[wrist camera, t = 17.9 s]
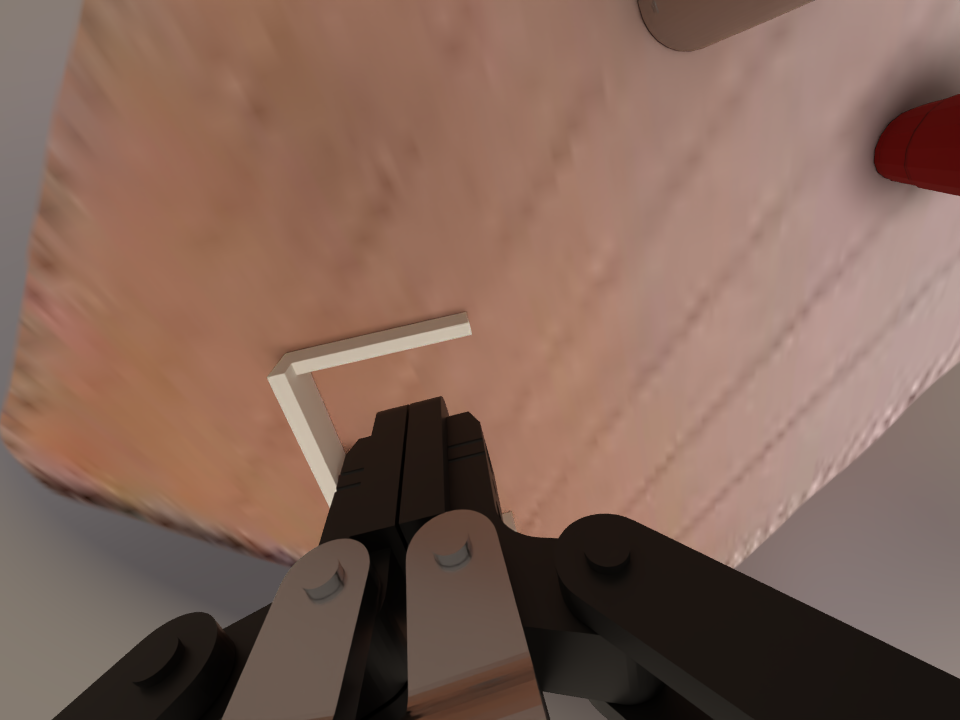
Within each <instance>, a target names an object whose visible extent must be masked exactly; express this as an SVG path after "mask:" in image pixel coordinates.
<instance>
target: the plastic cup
mask: <svg viewBox="0 0 960 720" xmlns="http://www.w3.org/2000/svg"><path fill="white" fill-rule="evenodd" d="M874 163H875V166H876V169H877V171H878V173H880V174H881V175H882V176H883V177H885V178H888V179H890V180H891V181H896V182H901V183H906V184H911V185H915V186H917V187H918V188H923V189H928V190H933V191H938V192H943V193H948V194H953V195H958V196H960V94H958V95H955V96H952V97H949V98H947V99H943V100H939V101H936V102H932V103H928V104H925V105H922V106H919V107H916V108H914V109H911V110H909V111H907V112H904V113H902V114H901V115H899V116H898V117H897V118H896V119H894V120H893V121H892V122H891V123H890V124H889V125H888V126H887V128H886V129H885V130H884V132H883V133H882V135H881V136H880V139H879V141H878V144H877V146H876V149H875V158H874Z"/></svg>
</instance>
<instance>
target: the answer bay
mask: <svg viewBox="0 0 960 720" xmlns="http://www.w3.org/2000/svg"><path fill="white" fill-rule="evenodd" d="M468 335H472V333H471V328H470V324H469V320H468V316H467V312H463V313H458V314H454V315H450V316H445V317H441V318H437V319H432V320H428V321H423V322H419V323H415V324H410V325H406V326H402V327H397V328H393V329H389V330H384V331H380V332H376V333H371V334H367V335H363V336H358V337H354V338H350V339H345V340H341V341H337V342H332V343H328V344H324V345H319V346H315V347H310V348H306V349H302V350H297V351H293V352H289V353H285V354H284V356H283V357H282V358H281V359H280V361H279V362H278V363H277V365H276V366H275V367H274V369H273V370H272V371H271V373H270V374H269V375H268V377H267V379H268V381H269V383H270V385H271V387H272V389H273V391H274V393H275V395H276V398H277V400H278V402H279V404H280V406H281V408H282V410H283V412H284V414H285V416H286V418H287V420H288V422H289V424H290V426H291V429H292V431H293V433H294V435H295V437H296V439H297V441H298V443H299V445H300V447H301V449H302V451H303V453H304V455H305V458H306V460H307V462H308V464H309V466H310V468H311V470H312V472H313V474H314V476H315V478H316V480H317V482H318V484H319V486H320V489H321V491H322V493H323V495H324V497H325V499H326V501H327V503H328V505H329V507H330V506H331V503H332V500H333V496H334V493H335V492H336V486H337V483H338V476H339V475H340V473H341V469H342V466H343V463H344V459H345V456H346V454H345V452H344V449H343V447H342V445H341V442H340V440H339V438H338V435H337V433H336V431H335V428H334V426H333V424H332V421H331V419H330V417H329V414H328V412H327V410H326V407H325V405H324V403H323V400H322V398H321V396H320V393H319V391H318V389H317V386H316V384H315V382H314V379H313V377H312V375H311V372H312V371H316V370H321V369H325V368H329V367H334V366H338V365H342V364H347V363H351V362H355V361H360V360H364V359H368V358H373V357H377V356H381V355H386V354H390V353H394V352H399V351H403V350H407V349H412V348H416V347H420V346H425V345H429V344H433V343H438V342H442V341H446V340H451V339H455V338H459V337H464V336H468ZM502 517H503V522H504V524H506V525H507V526H508V527H509V528H511V529H512V530H514V531H516V527H515V523H514V519H513V515H512V512H508V513H504V514H502ZM516 532H517V531H516Z"/></svg>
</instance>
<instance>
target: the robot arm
mask: <svg viewBox="0 0 960 720" xmlns="http://www.w3.org/2000/svg"><path fill="white" fill-rule="evenodd" d="M812 1H815V0H638V3H639V7H640V11H641V14H642V17H643V20H644V22H645V24H646V26H647V27H648V29H649V31H650V32H651V33H652V35H653V36H654V37H655V38H656V39H657V40H658V41H659V42H661V43H662V44H664V45H665V46H667V47H668V48H671V49H675V50H678V51H694V50H698V49H702V48H705V47H707V46H709V45H712V44H714V43H716V42H719V41H721V40H723V39H726V38H728V37H730V36H733V35H735V34H738V33H740V32H743V31H745V30H747V29H750V28H752V27H754V26H757V25H759V24H761V23H764V22H766V21H768V20H770V19H773V18H775V17H777V16H780V15H782V14H784V13H787V12H789V11H791V10H794V9H796V8H798V7H801V6H803V5H805V4H808V3H810V2H812ZM340 474H341V477H339V479H338V483H337V486H336V492H335V493H334V496H333V500H332V503H331V506H330V510H329V513H328V516H327V520H326V523H325V526H324V530H323V533H322V536H321V540H320V543H319V546H318V547H316V548H314V549H312V550H311V551H309V552H308V553H307V554H305V555H304V556H303V557H302V558H300V559H299V560H298V561H297V562H296V563H295V564H294V565H293V566H292V568H291V569H290V570H289V571H288V573H287V574H286V576H285V577H284V579H283V581H282V583H281V584H280V586H279V589H278V591H277V593H276V596H275V598H274V600H273V602H272V603H270V604H269V605H267V606H265V607H263V608H261V609H260V610H258V611H256V612H254V613H252V614H250V615H248V616H246V617H245V618H243V619H241V620H239V621H237V622H235V623H233V624H231V625H230V626H228V627H226V628H224V629H222V628H221V627H220V625H219V624H218V623H217V622H216V621H215V619H214V618H213V617H212V616H211V615H209V614H207V613H203V612H194V613H189V614H185V615H182V616H179V617H177V618H175V619H173V620H171V621H169V622H167V623H166V624H164V625H162V626H161V627H159V628H158V629H156V630H155V631H153V632H152V633H151V634H149V635H148V636H147V637H146V638H144V639H143V640H142V641H141V642H140V643H139V644H137V645H136V646H135V647H134V648H133V649H132V650H131V651H130V652H128V653H127V654H126V655H125V656H124V657H123V658H121V659H120V660H119V661H118V662H117V663H116V664H115V665H114V666H112V667H111V668H110V669H109V670H108V671H107V672H106V673H104V674H103V675H102V676H101V677H100V678H99V679H98V680H97V681H95V682H94V683H93V684H92V685H91V686H90V687H88V689H86V690H85V691H84V692H83V693H82V694H81V695H79V696H78V697H77V698H76V699H75V700H74V701H73V702H71V703H70V704H69V705H68V706H67V707H66V708H65V709H63V710H62V711H61V712H60V713H59V714H58V715H57V716H56V717H54V718H53V719H52V720H550V716H549V713H548V709H547V705H546V702H545V698H544V694H543V691H544V692H550V693H556V694H562V695H569V696H574V697H580V698H587V699H589V701H590V702H591V703H592V705H593V706H594V707H595V708H596V709H597V710H598V711H599V712H600V713H601V714H602V715H603V716H605V717H606V718H607V719H608V720H960V679H959V678H957V677H955V676H953V675H951V674H949V673H947V672H945V671H943V670H940V669H938V668H936V667H934V666H932V665H930V664H928V663H926V662H924V661H922V660H920V659H918V658H916V657H914V656H912V655H910V654H908V653H905V652H903V651H901V650H899V649H897V648H895V647H893V646H891V645H889V644H887V643H885V642H883V641H881V640H879V639H877V638H875V637H873V636H870V635H868V634H866V633H864V632H862V631H860V630H858V629H856V628H854V627H852V626H850V625H848V624H846V623H844V622H842V621H840V620H837V619H835V618H834V617H831V616H829V615H827V614H825V613H823V612H821V611H819V610H817V609H815V608H813V607H811V606H809V605H807V604H805V603H803V602H800V601H799V600H796V599H794V598H792V597H790V596H788V595H786V594H784V593H782V592H780V591H778V590H775V589H774V588H772V587H770V586H768V585H766V584H764V583H761V582H759V581H757V580H755V579H753V578H751V577H749V576H747V575H745V574H743V573H741V572H739V571H737V570H735V569H733V568H731V567H729V566H727V565H724V564H722V563H720V562H718V561H716V560H714V559H712V558H710V557H708V556H706V555H704V554H702V553H700V552H698V551H696V550H694V549H692V548H689V547H687V546H685V545H683V544H681V543H679V542H677V541H675V540H673V539H671V538H669V537H667V536H665V535H663V534H661V533H659V532H657V531H654V530H652V529H650V528H648V527H646V526H644V525H642V524H640V523H638V522H636V521H634V520H631V519H629V518H627V517H623V516H619V515H614V514H595V515H590V516H586V517H583V518H581V519H579V520H577V521H575V522H573V523H572V524H570V525H569V526H568V527H567V528H566V529H565V530H564V531H563V532H562V534H561V535H560V537H559V538H539V537H531V536H527V535H523V534H520V533H518V532H516V531H514V530H512V529H511V528H509V527H508V526H507V525H506V524H504V522H503V517H502V512H501V507H500V502H499V497H498V492H497V486H496V481H495V476H494V472H493V468H492V465H491V461H490V457H489V454H488V450H487V446H486V443H485V439H484V436H483V432H482V428H481V425H480V422H479V421H478V420H477V419H476V418H475V417H474V416H473V415H472V414H471V413H469V412H465V413H461V414H457V415H453V416H449V414H448V410H447V407H446V404H445V401H444V399H443V397H442V396H440V397H436V398H432V399H428V400H424V401H420V402H416V403H412V404H410V405H409V404H408V405H404V406H400V407H396V408H392V409H388V410H384V411H380V412H377V414H376V418H375V422H374V426H373V431H372V435H371V436H369V437H365V438H361V439H359V440H358V441H357V442H356V443H355V445H354V446H353V447H352V448H351V450H350V451H349V452H348V454H347V455H346V456H345V459H344V463H343V466H342V469H341V473H340Z"/></svg>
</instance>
